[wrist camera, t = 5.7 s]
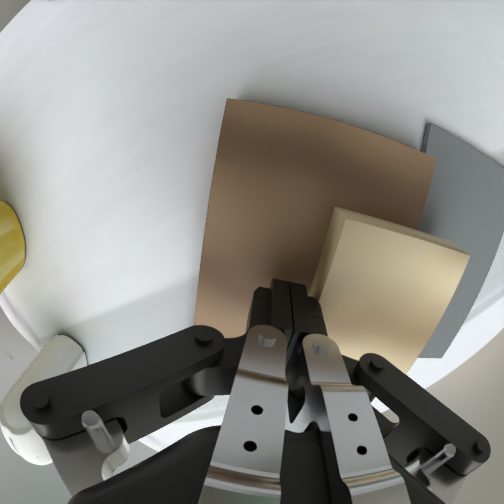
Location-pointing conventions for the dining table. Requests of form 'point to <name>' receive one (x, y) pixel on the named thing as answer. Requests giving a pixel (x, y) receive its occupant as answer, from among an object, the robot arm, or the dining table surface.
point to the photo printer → (42, 367)
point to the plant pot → (10, 245)
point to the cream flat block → (384, 286)
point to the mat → (462, 222)
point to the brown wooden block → (292, 200)
